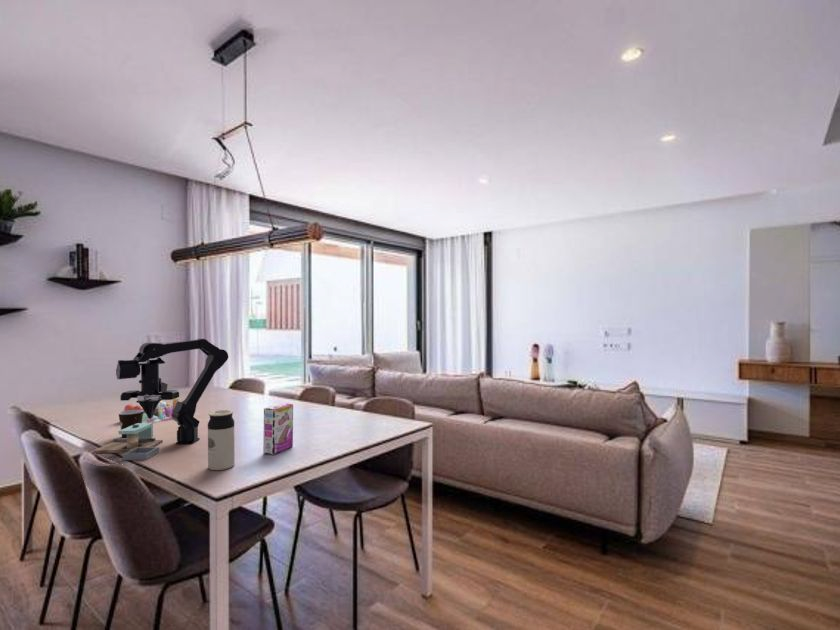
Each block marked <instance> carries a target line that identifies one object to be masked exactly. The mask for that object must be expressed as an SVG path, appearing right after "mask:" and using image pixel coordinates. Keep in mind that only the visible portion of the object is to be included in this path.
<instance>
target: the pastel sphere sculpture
mask: <svg viewBox="0 0 840 630" xmlns="http://www.w3.org/2000/svg"><path fill="white" fill-rule="evenodd" d="M178 401H179V397H178V398H175V399H172V404H171V403H169V402H168V401H167V402H166V401H165V400H161V401H160V402H159V403H158V405H157V407H156V409H155V412H154V415H153V417H152V418H151V419H149V418H148V416H147V415H146V413H145V411H144V410H143V408H142V407H141V405H140V404H137V405H133V404H131V403H128V404H126V405H125V406H124V410H122V411H121V412H123V411H129V410H143V418H142V423H153V424H156V423H155V422H157V423H160V422H163V421H162V420H164V421H171V420H170V419H172V420H173V418H172V413H173V411H172V410H173V409H174V408H175V406H176V404H177V402H178ZM183 401H184V400H181V401H180V402H183ZM159 421H160V422H159Z"/></svg>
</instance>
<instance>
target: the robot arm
mask: <svg viewBox="0 0 840 630" xmlns="http://www.w3.org/2000/svg"><path fill="white" fill-rule="evenodd" d="M192 350H193V351H194V350H200V351H201V352H202V353H204V354H205V355H206V356H207V357H206V359H205V364H204V367H203V370H202V371H201V372H200V374H199V376H198V378H197V380H195V382H194V384H193V386H192V388H191V389H190V391H189V393H188V395H187V396H186V398H185V399H183V400H182V401H183V402H181V401H179V400H178V402H177V404H176V406H175V408H174V409H173V410H172V411H173V413H172V418H173V419H172V420H173V421H174V422H176V424H177V426H178V427H177V430H176V442H175V444H176V445H177V444H178V445H181V444H182V445H183V444H184V445H189V444H195V443H196V442H197V441H199V440H200V437H199V429H198V428H199V425H200V420H198V419H197V418H196V417H194V416H195V414H196V411H197V404H198V402H199V401H200V399H201V397H202V395H203V394H204V392H205V390H206V389H207V387H208V385H209V384H210V382H211V380H212V378H213V377H214V375H215V374H216V372H218V370H219V369H221V368H222V367H223V366H224V365H225V364H226V362H227V361H228V359H229V354H228V351H226V350H225V349H222V348H221V349H220V348H219V347H217V346H216V345H215V344H213V343H211V342H210V341H208V340H207V339H206V338H196V339H191V340H182V341H176V342H175V341H173V342H145V343H142V344H141V345H140V347H139V350H138V352H137V354H136V355H135V357H134V358H132V359H126V360H124V359H118V360H117V365H116V369H115V376H116V379H117V380H125V379H137V378H138V376H140V379H139V380H138V384H140V388H141V390H127V391H124V392H121V394H120V397H119V399H120V401H123V402H124V401H130V400H131V399H136V398H137V400H136V401H135V402H136V404H138V405H139V406H140V407H141V408H142V409H143V410H144V411H145V413H146V415H147V416H148V418H149V419H151V418H152V417H153V415H154V412H155V409H156V407H157V405H158V403H159V402H160V401H161V400H162V401H171V400H172V401H173V399H175V398H178V399H179V398H180V392H179V390H178V389H168V386H169V384H168V383H165V382H162V377H160V365H163V364H166V361H165V360H163V359H162V357H163V356H165V355H168V354H172V353H179V352H186V351H192Z"/></svg>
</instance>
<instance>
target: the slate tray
mask: <svg viewBox="0 0 840 630" xmlns="http://www.w3.org/2000/svg"><path fill="white" fill-rule="evenodd" d="M159 453H160V447H159V446H155V447H136V448H134V449H132V450H130V451H128V452H126V453H122V461H147V460H149V459H151V457H153V456H156V455H157V454H159ZM155 454H156V455H155Z"/></svg>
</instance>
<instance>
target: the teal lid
mask: <svg viewBox="0 0 840 630" xmlns="http://www.w3.org/2000/svg"><path fill="white" fill-rule="evenodd" d="M117 432H118V435H122V434H136V433H138V438H154V423H137V424H134V425H132V426H129V427H127V428H125V429H122V430H121V429H119V430H118V431H117Z"/></svg>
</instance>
